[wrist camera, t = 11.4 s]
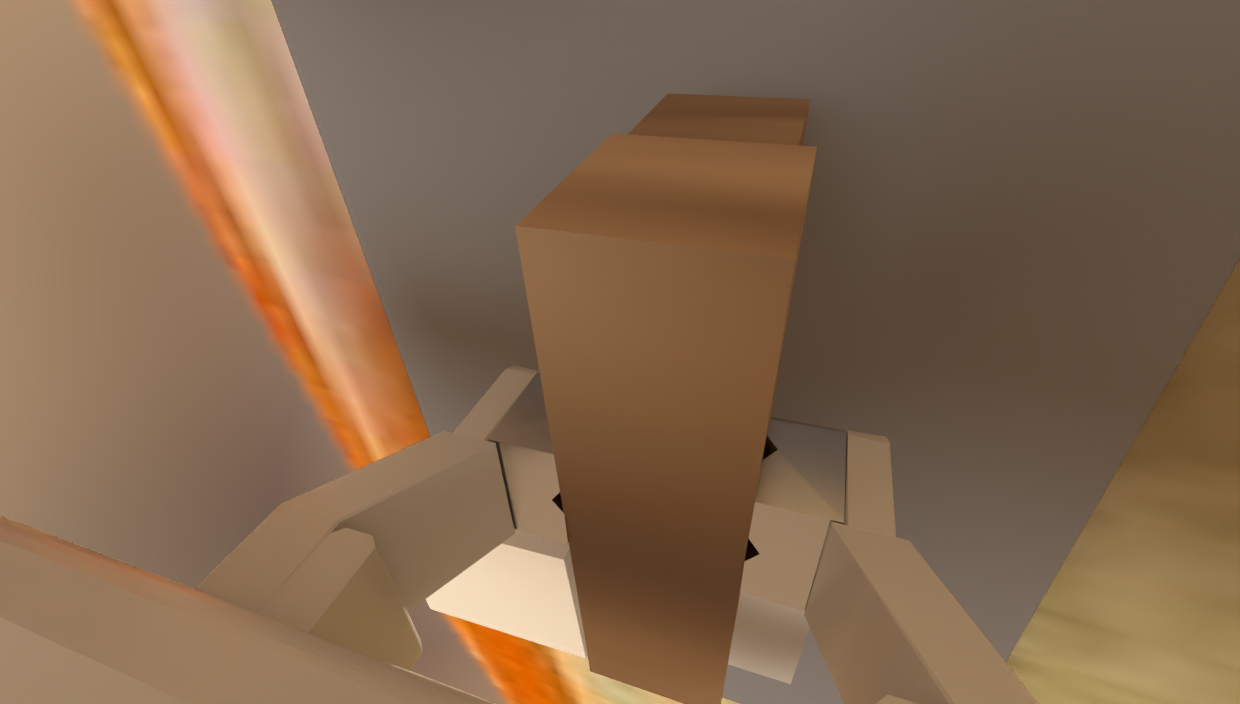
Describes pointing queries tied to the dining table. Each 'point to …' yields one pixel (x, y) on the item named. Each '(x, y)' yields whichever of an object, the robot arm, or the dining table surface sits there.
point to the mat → (837, 224)
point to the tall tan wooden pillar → (671, 380)
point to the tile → (520, 593)
